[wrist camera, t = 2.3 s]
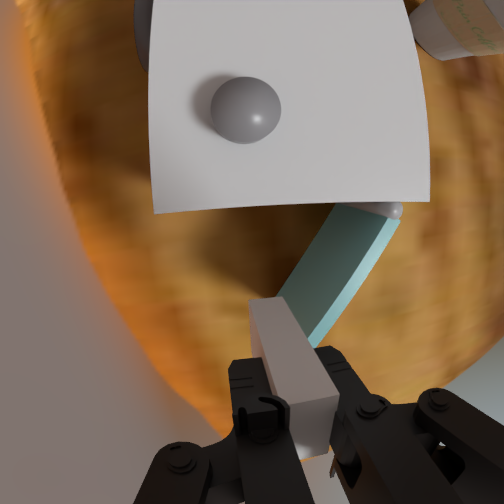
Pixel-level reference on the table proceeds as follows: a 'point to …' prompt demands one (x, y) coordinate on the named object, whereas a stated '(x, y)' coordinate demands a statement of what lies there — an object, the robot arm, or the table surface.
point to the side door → (338, 263)
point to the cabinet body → (282, 103)
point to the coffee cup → (459, 27)
